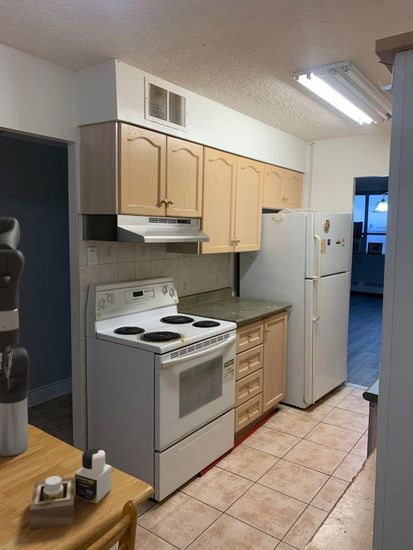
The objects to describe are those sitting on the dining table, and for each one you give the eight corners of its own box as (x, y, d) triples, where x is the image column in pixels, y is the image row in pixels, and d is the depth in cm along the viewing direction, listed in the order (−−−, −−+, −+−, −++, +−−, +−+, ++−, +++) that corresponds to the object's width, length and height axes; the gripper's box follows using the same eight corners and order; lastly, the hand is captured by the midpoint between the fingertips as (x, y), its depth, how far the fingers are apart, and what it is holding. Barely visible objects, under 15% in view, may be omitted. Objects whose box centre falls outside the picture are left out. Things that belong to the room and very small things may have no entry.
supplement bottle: (39, 515, 108) (39, 484, 107) (49, 504, 112) (49, 473, 111) (57, 518, 107) (57, 486, 106) (66, 506, 111) (66, 476, 110)
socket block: (35, 499, 114) (35, 480, 113) (74, 494, 117) (74, 476, 116) (29, 529, 102) (29, 509, 102) (73, 523, 105) (73, 503, 104)
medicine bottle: (74, 497, 115) (74, 455, 114) (90, 483, 122) (91, 443, 121) (96, 504, 113) (96, 461, 111) (111, 489, 119) (112, 448, 118)
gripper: (14, 331, 105) (15, 399, 107) (22, 320, 118) (22, 381, 120) (-20, 332, 103) (-18, 401, 105) (-8, 321, 116) (-7, 383, 118)
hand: (3, 390), depth 113 cm, fingers closed
